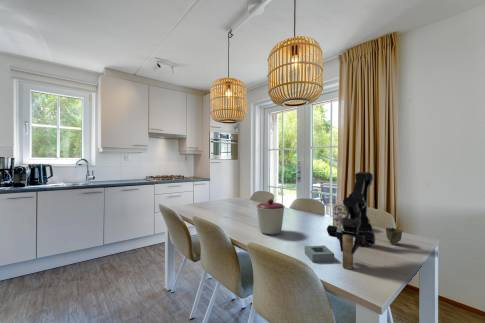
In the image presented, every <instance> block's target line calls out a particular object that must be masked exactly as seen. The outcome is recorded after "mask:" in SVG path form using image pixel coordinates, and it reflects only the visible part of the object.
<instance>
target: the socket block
mask: <svg viewBox="0 0 485 323" xmlns="http://www.w3.org/2000/svg"><path fill="white" fill-rule="evenodd" d="M304 255H305V256H306V257H307V258H308V259H309V260H310V261H311V263H330V262H331V263H332V262H333V263H334V262H335V253H334V252H333V251H332V250H331V249H329V248H328V247H327V246H326V245H305V246H304Z"/></svg>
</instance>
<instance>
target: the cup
mask: <svg viewBox="0 0 485 323" xmlns="http://www.w3.org/2000/svg"><path fill="white" fill-rule="evenodd" d="M385 233H386V238H387V240H388V241H389V243H390V245H393V246H397V245H398V244H399V242H401V241H402V235H403V229H401V228H399V229H398V228H394V227H386V228H385Z"/></svg>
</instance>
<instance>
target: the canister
mask: <svg viewBox="0 0 485 323" xmlns="http://www.w3.org/2000/svg"><path fill="white" fill-rule="evenodd" d="M255 208H256V209H257V210H256V211H257V218H258V219H257V220H258V225H259V226H258V227H259V231H260V232H261V233H262V234H264V235H271V236H272V235H278V234H280V233H281V232H282V228H283V224H284V222H283V221H284V215H285V214H284V211H285V209H286V206H285V205H283V204H282V203H280V202H274V200H273V198H269V199H268V200H267V201H266V202H260V203H258V204H256V206H255Z"/></svg>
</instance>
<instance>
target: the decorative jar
mask: <svg viewBox="0 0 485 323" xmlns="http://www.w3.org/2000/svg"><path fill="white" fill-rule="evenodd" d="M346 216H347V213H346V211H345V208H344V204H343V200H341V202H335V204H334V205H333V207H332V226H337V228H338V229H341V230H343V231H344V229H343V228H342V227H343V225H342V218H346Z"/></svg>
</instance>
